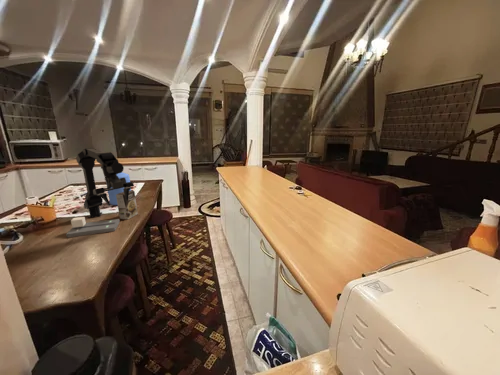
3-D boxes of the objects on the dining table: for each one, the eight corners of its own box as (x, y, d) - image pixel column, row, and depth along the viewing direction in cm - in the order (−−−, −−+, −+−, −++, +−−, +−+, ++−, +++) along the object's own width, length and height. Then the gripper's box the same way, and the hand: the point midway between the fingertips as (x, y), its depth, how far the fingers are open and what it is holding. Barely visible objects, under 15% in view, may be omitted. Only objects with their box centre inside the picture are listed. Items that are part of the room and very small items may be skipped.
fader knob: (75, 226, 122) (73, 217, 121) (86, 224, 123) (84, 216, 122) (72, 229, 118) (70, 220, 117) (83, 227, 120) (81, 219, 119)
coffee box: (128, 219, 136) (124, 194, 132) (119, 218, 138) (115, 194, 133) (138, 214, 145) (134, 190, 141) (129, 213, 146) (126, 190, 142)
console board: (76, 227, 126) (75, 223, 126) (119, 221, 133) (119, 218, 133) (67, 237, 114) (66, 233, 114) (114, 230, 121) (114, 227, 121)
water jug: (126, 205, 160) (120, 168, 153) (105, 205, 161) (97, 168, 153) (137, 198, 175) (131, 164, 168) (117, 198, 176) (111, 164, 168)
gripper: (94, 177, 106) (104, 208, 109) (134, 170, 120) (141, 198, 122) (88, 179, 114) (97, 208, 116) (126, 172, 128) (133, 198, 130)
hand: (118, 203), depth 121 cm, fingers open, 9 cm apart
